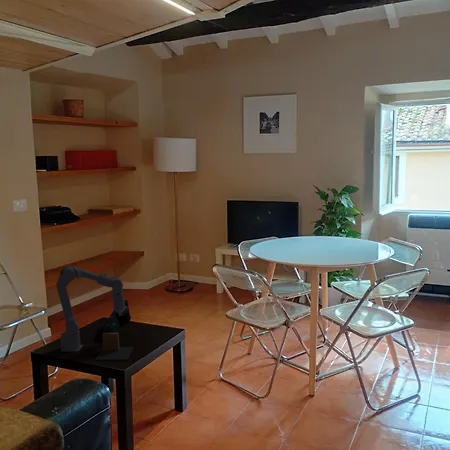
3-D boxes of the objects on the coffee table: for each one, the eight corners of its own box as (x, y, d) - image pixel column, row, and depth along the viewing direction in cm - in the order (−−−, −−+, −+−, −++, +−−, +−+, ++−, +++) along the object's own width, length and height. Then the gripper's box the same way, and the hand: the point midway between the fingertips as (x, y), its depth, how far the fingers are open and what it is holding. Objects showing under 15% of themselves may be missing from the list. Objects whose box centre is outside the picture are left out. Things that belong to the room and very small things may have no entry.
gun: (131, 317, 295) (128, 297, 288) (118, 350, 269) (113, 329, 262) (121, 317, 296) (117, 297, 289) (106, 350, 269) (102, 328, 263)
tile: (103, 350, 249) (102, 334, 247) (104, 349, 250) (103, 332, 249) (118, 350, 249) (117, 333, 247) (119, 349, 250) (118, 332, 249)
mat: (95, 360, 238) (95, 359, 238) (103, 348, 253) (103, 347, 253) (127, 360, 238) (127, 359, 238) (133, 348, 253) (133, 347, 253)
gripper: (127, 303, 252) (130, 327, 254) (125, 295, 266) (127, 318, 268) (113, 305, 250) (116, 329, 253) (112, 297, 264) (115, 320, 267)
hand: (121, 324), depth 260 cm, fingers open, 7 cm apart
